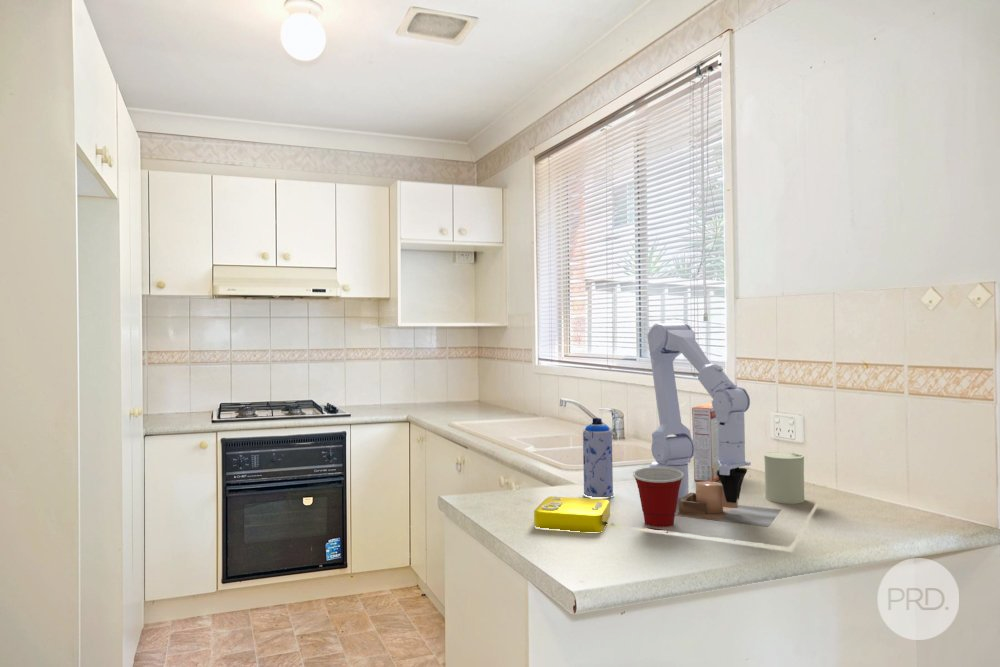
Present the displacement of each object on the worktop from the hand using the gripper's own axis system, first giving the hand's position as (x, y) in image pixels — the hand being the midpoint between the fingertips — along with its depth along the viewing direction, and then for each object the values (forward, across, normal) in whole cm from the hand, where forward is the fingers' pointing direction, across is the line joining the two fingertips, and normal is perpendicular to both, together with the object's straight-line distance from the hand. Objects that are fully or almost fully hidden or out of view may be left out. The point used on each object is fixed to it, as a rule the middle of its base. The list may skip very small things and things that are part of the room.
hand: (732, 501), depth 161 cm
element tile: (+4, -21, +30) cm, 37 cm away
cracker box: (+4, +40, +15) cm, 43 cm away
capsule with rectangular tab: (+3, 0, +4) cm, 4 cm away
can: (+4, +19, -8) cm, 21 cm away
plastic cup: (+4, -16, +12) cm, 20 cm away
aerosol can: (+4, +5, +35) cm, 35 cm away
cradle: (+3, 0, +1) cm, 4 cm away
